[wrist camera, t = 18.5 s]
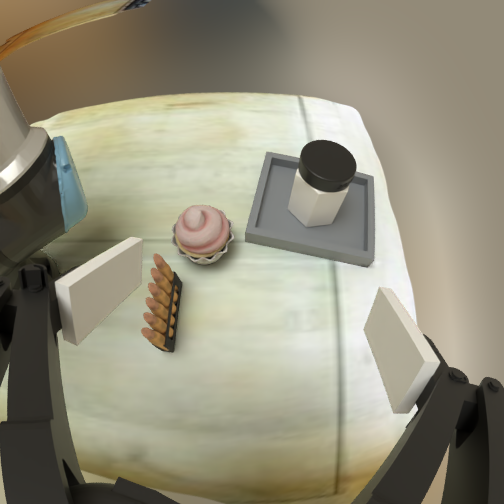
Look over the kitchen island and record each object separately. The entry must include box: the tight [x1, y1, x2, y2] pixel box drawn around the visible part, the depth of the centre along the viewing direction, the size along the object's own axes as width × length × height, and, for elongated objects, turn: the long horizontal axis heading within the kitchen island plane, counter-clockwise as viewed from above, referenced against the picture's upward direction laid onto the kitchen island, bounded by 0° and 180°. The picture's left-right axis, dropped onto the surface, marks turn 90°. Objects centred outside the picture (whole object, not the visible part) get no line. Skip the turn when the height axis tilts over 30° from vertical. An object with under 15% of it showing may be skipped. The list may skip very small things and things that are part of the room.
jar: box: [288, 140, 356, 227], centre depth 44 cm, size 9×8×12 cm
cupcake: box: [171, 205, 234, 265], centre depth 42 cm, size 9×9×10 cm
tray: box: [245, 152, 375, 267], centre depth 49 cm, size 20×17×3 cm
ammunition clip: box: [141, 254, 182, 352], centre depth 36 cm, size 11×2×12 cm, turn 177°
